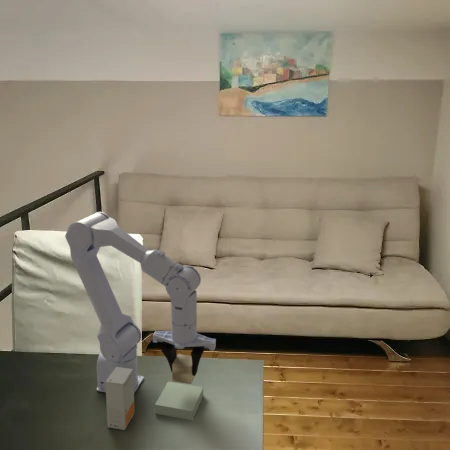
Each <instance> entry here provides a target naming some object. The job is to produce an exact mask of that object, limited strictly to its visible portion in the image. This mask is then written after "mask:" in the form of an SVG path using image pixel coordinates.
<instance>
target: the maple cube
mask: <svg viewBox="0 0 450 450" xmlns="http://www.w3.org/2000/svg"><path fill="white" fill-rule="evenodd" d="M171 373H172V376H171V377H172V378H171V379H172V381H171V382H174V383H180V384H186V385H192V383H193V380H194V378H195V377H196V375H195V376H193V375H192V357H191V355H188V354H181V353H177V357H176V359H175V360H174V362H173V364H172V372H171Z"/></svg>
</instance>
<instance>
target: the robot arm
mask: <svg viewBox="0 0 450 450" xmlns="http://www.w3.org/2000/svg"><path fill="white" fill-rule="evenodd" d="M64 237H65V239H66V242H67V244H68V246H69V251H70V257H71V260H72V263H73V265H74V267H75V269H76V271H77V275H78V276H79V278H80V280H81V283H82V284H83V287H84V289H85V291H86V293H87V296H88V298H89V300H90V302H91V305H92V307H93V309H94V312H95V313H96V316H97V318H98V321H99V323H100V326H99V329H98V332H97V335H96V336H97V340H98V342H99V350H100V353H99V355H98V357H97V361H96V377H97V378H96V379H97V387H96V391H97V392H100V393H106V387H105V382H106V380H107V379H108V378H109V376H110V374H111V373H112V372H113V371H114V369H115V368H116V367H122V368H128V369H133V384H134V394H135V392H136V391H137V390H138V388H139V387H140V386H141V383H142V382H143V381H144V377H145V376H144V375H138V374H139V373H138V355H137V354H138V353H137V352H138V351H137V349H138V343H140V341H141V339H142V332H141V329H140V328H139V326H138V325H137V324H135V322H134V321H133V317H132V316H130V315H127V314H124V313H123V312H122V310H121V308H120V305H119V304H118V301H117V299H116V296H115V294H114V292H113V289H112V287H111V284H110V283H109V281H108V279H107V276H106V274H105V271H104V269H103V267H102V264H101V262H100V260H99V258H98V253H99V251H100V249H101V247H102V248H104V247H112V248H114V249H116V250H117V251H120V253H123V254H125V255H126V256H128V257H129V258H131V259H133V260H134V261H136V262H138V263H139V264H140V267H141V271H142V272H143V273H145V274H146V275H148V276H149V277H151V278H152V279H153V280H155V281H157V282H159V283H160V284H161V285H162V286H163V287H165V291H166V292H167V295H168V296H169V298H170V311H171V313H170V316H171V318H170V319H171V320H170V321H171V322H170V323H171V324H170V325H171V326H170V327H171V330H165V331H163V330H162V331H161V330H160V331H158V330H155V331H154V333H153V334H152V343H159V342H160V343H162V345H161V348H160V349H161V350H160V351H161V352H162V354H163V355H164V356H165V358H166V360H167V362H168V365H169V368H170V373H172V364H173V362H174V360H175V359H176V357H177V355H178V353H177V351H178V350H179V349H180V350H183V349H185V348H191V347H193V348H192V350H191V352H190V356H191V357H192V375H193V376H195V377H196V375H197V373H198V371H199V370H198V369H199V365H200V362H201V358H202V356H203V354H204V352H205V350H206V349H208V350H209V351H211V352H214V351H215V349H216V346H217V345H216V343H217V339H216V338H211V337H207V336H205V335H202V334H200V333H198V332H197V326H198V324H197V323H198V322H197V321H198V320H197V318H198V317H197V316H198V315H197V308H198V307H197V305H198V304H197V303H198V302H197V289H198V287H199V286H200V285H201V279H202V278H201V275H200V273H199V272H198V270H197V269H195V268H194V266H192V265H182V264H181V263H178V262H176V261H175V260H173V259H172V258H171V257H170V256H167V255H166V252H164V251H163V250H158V249H148V248H147V247H145V246H144V245H143V244H141V243H140V242H139V241H138V240H136V239H135V238H134V237H132V236H131V235H130V234H129V233H127V231H125V230H123V229H122V228H121V227H120V226H119V225H118V223H117V221H116V220H115V219H114V218H112V217H110V216H109V215H108V214H107V213H106V212H103V211H97V212H94V213H93V214H91V215H89V216H86V217H85V218H83V219H80V220H78V221H74V222H72V223H71V224H70V225H69V226H68V229H67V230H66V233H65V235H64Z"/></svg>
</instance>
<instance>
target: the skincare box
mask: <svg viewBox="0 0 450 450" xmlns="http://www.w3.org/2000/svg"><path fill="white" fill-rule="evenodd" d="M105 387H106V392H105V399H106V401H105V402H106V419H107V428H110V429H116V430H122V431H126V428H127V427H128V425H129V423H130V421H131V420H132V419H133V417H134V415H135V393H134V384H133V369H128V368H122V367H116V368H115V369H114V371H113V372H112V373H111V374H110V376H109V378H108V379H107V380H106V382H105Z"/></svg>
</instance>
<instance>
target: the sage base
mask: <svg viewBox="0 0 450 450" xmlns="http://www.w3.org/2000/svg"><path fill="white" fill-rule="evenodd" d="M203 397H204V387H203V386H198V385H193V384H187V383H181V382H174V381H167V383H166V385H165V386H164V388H163V389H162V392H161V393H160V395H159V397H158V398H157V400H156V402H155V404H154V414H155V415H161V416H167V417H172V418H178V419H184V420H188V421H193V420H194V418H195V416H196V413H197V411H198V409H199V406H200V405H201V402H202V401H203Z"/></svg>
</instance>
